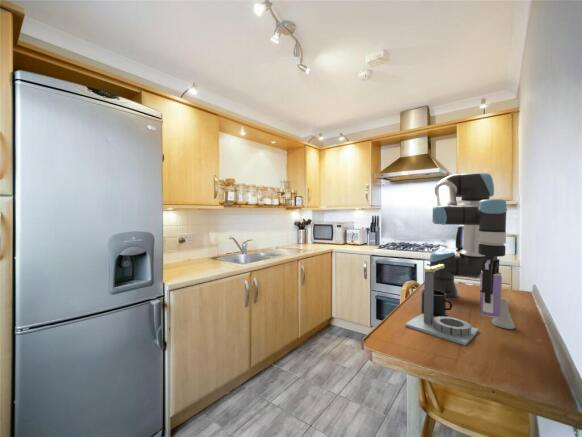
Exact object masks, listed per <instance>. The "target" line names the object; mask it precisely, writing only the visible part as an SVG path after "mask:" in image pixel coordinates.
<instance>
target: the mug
mask: <svg viewBox="0 0 582 437" xmlns="http://www.w3.org/2000/svg"><path fill="white" fill-rule="evenodd" d="M447 303H448V304H449V307H448V308H447ZM420 309H421V312H422V314H424V289H422V290H421V308H420ZM452 309H453V303H452V301H451V300H449V299H448V298H446V293H444V292H442V291H438V290H434V298H433V317H440V316H443V317H444V316H445V317H446V314H447V311H452Z"/></svg>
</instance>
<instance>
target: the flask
mask: <svg viewBox="0 0 582 437" xmlns="http://www.w3.org/2000/svg"><path fill="white" fill-rule="evenodd" d="M509 303H510V301H509V300H507V299H505V298H504V299H503V298H501V316H500V317H498V318H492V320H491V324H492V325H493V326H495V327H498V328H501V329H502V328H503V329H506V330H513V329H516V326H515V323H514V321H513V319H512V316H511V313H510V310H509Z"/></svg>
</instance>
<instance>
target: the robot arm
mask: <svg viewBox="0 0 582 437" xmlns="http://www.w3.org/2000/svg"><path fill="white" fill-rule="evenodd" d="M494 185H495V184H494V180H493V177H492V175H491V174H490V173H488V172H476V173H461V174H457V173H455V174H451V175H448V176H446V177H444V178H442V179H441V180H439V181H438V182H437V184H436V185H435V187H434V195H435V196H436V202H437V205H434V206H433V207H432V223H433V224H435V225H442V226H443V225H445V226H446V225H448V226H449V225H453V226H455V225H457V226H459V225H460V226H461V225H462V226H463V240H462V241H463V243H462V244H463V245H462V249H460V250H459V254H456V253H455V251H444V250H442V251H435V252H431V254H430V256H429V257H430V259H429V267H432V266H436V265H439V264H443V265H445V267H444V268H442V269H439V270H436V271H435V272H434V290H438V291H442V292H444V293H446V299H455V298H457V297H458V296H459V292H458V288H457V286H456V282H455V277H458V278H468V279H475V280H476V279H478V280H480V274H481V271H483V273H482V290H480V289H479V293H480V292H482V293H483V311H485V312H489V313H493V295H494V294H492V293H493V278H494V274H496V273H497V272H499V273H500V261H501V260H500V259H499V258H498V257H505V256H506V245H505V244H507V211H508V208H507V201H506V200H505V199H502V198H501V199H496V198H495V199H490V198H491V197H494V195H495V187H494ZM457 198H461V200H460V201H461V202H462V203H463V205H458V200H457Z"/></svg>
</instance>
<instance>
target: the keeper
mask: <svg viewBox="0 0 582 437" xmlns="http://www.w3.org/2000/svg"><path fill="white" fill-rule="evenodd" d="M444 267H445V265H443V264H439V265H436V266H432V267H430V266H429V267H424V268H423V272H424V273H425V272H429V273H434V272H435V271H436V270H439V269H442V268H444Z"/></svg>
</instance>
